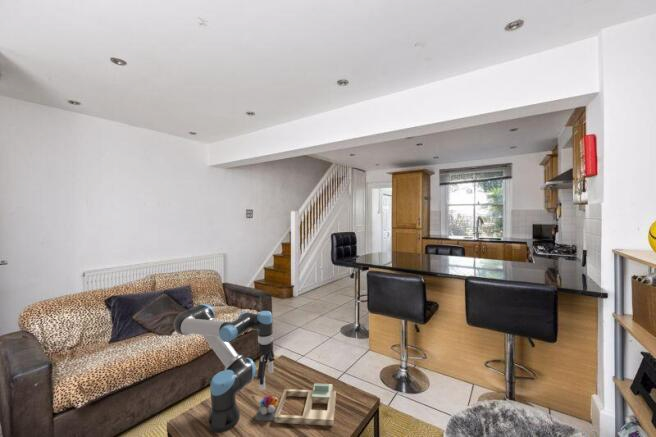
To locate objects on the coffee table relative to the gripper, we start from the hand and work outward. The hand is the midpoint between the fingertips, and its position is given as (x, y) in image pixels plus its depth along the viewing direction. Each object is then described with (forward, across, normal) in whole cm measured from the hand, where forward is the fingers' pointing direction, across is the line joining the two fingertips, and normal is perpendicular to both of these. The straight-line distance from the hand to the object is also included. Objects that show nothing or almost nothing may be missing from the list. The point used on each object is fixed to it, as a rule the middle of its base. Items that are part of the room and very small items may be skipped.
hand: (266, 380), depth 145 cm
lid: (+14, +14, -27) cm, 34 cm away
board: (+17, +7, -20) cm, 27 cm away
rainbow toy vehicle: (+16, 0, -2) cm, 16 cm away
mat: (+17, 0, 0) cm, 17 cm away
